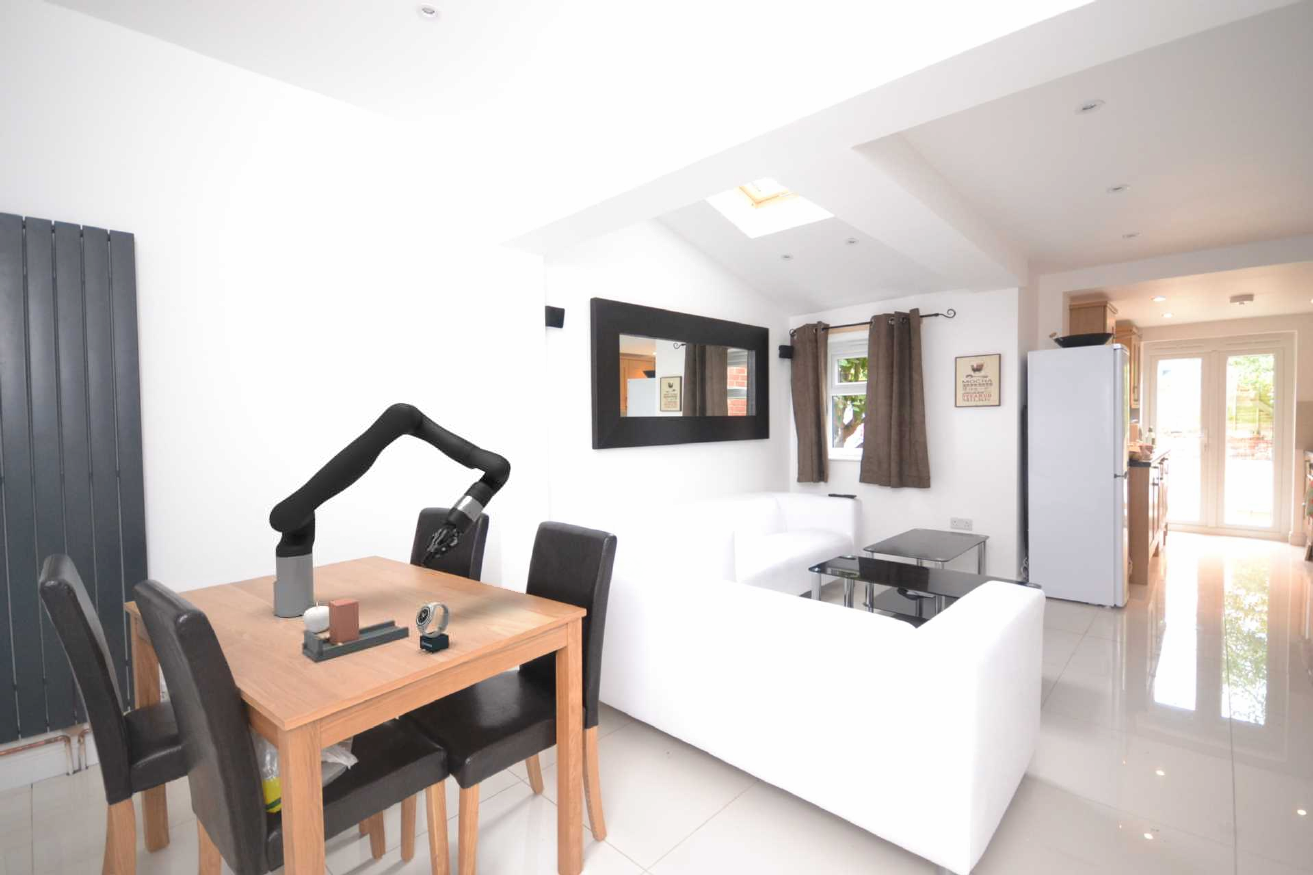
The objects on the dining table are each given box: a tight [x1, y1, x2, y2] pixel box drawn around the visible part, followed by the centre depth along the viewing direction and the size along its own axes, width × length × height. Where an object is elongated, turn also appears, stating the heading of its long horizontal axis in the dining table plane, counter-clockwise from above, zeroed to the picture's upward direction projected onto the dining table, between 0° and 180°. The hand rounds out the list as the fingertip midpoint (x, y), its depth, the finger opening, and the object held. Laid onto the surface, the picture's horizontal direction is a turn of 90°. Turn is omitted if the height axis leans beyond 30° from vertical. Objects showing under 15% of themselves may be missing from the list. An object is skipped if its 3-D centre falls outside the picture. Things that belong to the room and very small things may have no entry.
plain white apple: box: [302, 600, 329, 634], centre depth 160 cm, size 7×7×8 cm
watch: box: [415, 601, 451, 654], centre depth 146 cm, size 6×8×11 cm
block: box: [328, 597, 360, 645], centre depth 147 cm, size 5×5×10 cm
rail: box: [301, 619, 410, 663], centre depth 149 cm, size 22×9×5 cm, turn 138°
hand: (423, 565), depth 162 cm, fingers closed
